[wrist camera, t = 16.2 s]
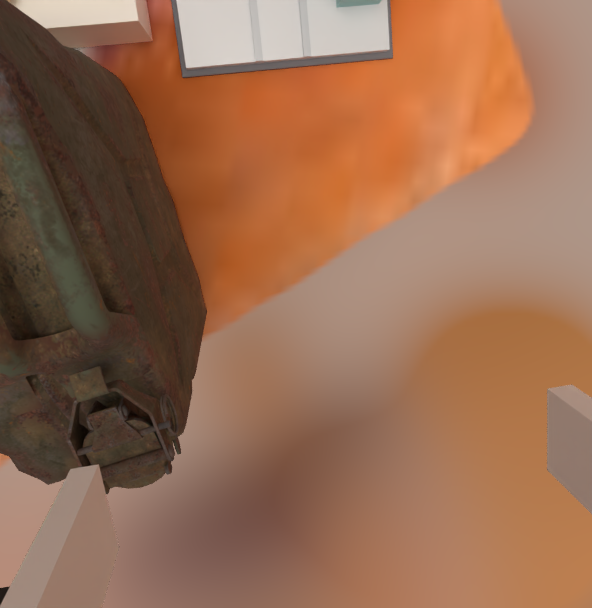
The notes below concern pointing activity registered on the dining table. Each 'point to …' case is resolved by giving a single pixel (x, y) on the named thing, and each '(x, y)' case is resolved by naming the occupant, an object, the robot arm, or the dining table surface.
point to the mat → (276, 65)
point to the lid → (279, 30)
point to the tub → (91, 20)
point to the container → (87, 272)
